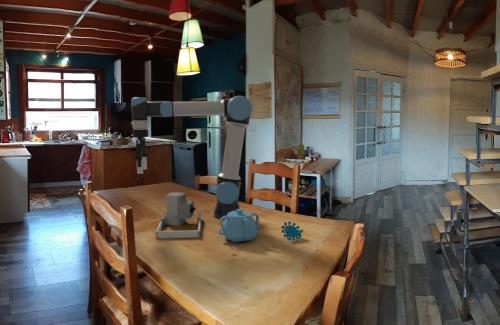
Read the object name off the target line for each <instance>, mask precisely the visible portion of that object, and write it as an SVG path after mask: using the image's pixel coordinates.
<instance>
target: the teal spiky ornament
mask: <svg viewBox="0 0 500 325" xmlns="http://www.w3.org/2000/svg"><path fill="white" fill-rule="evenodd" d="M296 225H297V224H296V222H293V223H292V222H291V221H288V222H286V221H285V222H284V223H283V224H282V225H281V233H282V234H283V233H284V234H283V238H287V237H288V238H287V241H289V242H290V240H291V239H292V240H293V241H294V240H296V239H297V240H298V239H301V238H302V237H303V235H302V234H303V232H304V231H305V230H304V229H301V228H300V226H299V225H297V226H296ZM286 236H287V237H286ZM297 240H296V241H297ZM293 241H292V242H293Z"/></svg>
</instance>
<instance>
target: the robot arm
mask: <svg viewBox="0 0 500 325" xmlns="http://www.w3.org/2000/svg"><path fill="white" fill-rule="evenodd" d="M130 102H131V103H130V105H131V106H130V109H131V122H130V124H131V125H132V138H137V139H136V140H135V144H136V145H135V158H134V161H136V173H137V175H139V174H141V175H142V174H144V170H148V163H147V162H148V161H147V160H148V159H147V158H148V157H149V155H148V153H147V145H146V144H147V143H146V142H147V141H146V138H148V137H149V119H148V118H151V117H153V118H154V117H155V118H161V117H162V118H163V117H164V118H167V117H168V118H169V117H192V116H193V117H194V116H196V117H198V116H200V117H202V116H207V117H210V116H214V117H215V116H222V117H223V118H225V122H226V124H227V132H226V138H225V145H224V153H223V159H222V160H223V161H222V165H221V166H222V167H221V172H220V173H219V174H217V175H216V186H215V187H216V188H215V191H214V194H215V197H216V203H215V206H214V210H213V216H214V218H218V219H221V218H222V217H223V216H227V214H228V213H229V212H232V211H236V209H241V206H240V203H239V196H240V185H241V179H242V178H241V177H240V175H239V174H240V173H239V172H240V165H241V159H242V153H243V151H242V150H243V144H244V138H245V133H246V128H247V127H248V126H249V124H250V118H251V113H252V110H253V107H252V103H251V101H250V99H248V98H247V97H246V96H243V95H236V96H233V97H231V98H223V99H222V100H205V101H204V100H203V101H200V100H197V101H196V100H195V101H167V100H165V101H164V100H160V101H159V100H158V101H149V100H148V99H147V97H132V98H131V101H130Z"/></svg>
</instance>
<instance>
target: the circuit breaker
mask: <svg viewBox="0 0 500 325" xmlns="http://www.w3.org/2000/svg"><path fill="white" fill-rule="evenodd" d="M186 195H187V194H186V192H172V191H171V192H169V193H167V194H165V198H164V204H165V205H166V216H165V222H166V223H165V225H164V226H167V225H168V226H177V227H178V226H182V225H183V224H185V223H186V222H187V220H189V219H191V218H192V217H194V216H195V211H197V209H196V207H195V201H194V200H187V198H186V197H187V196H186ZM166 219H167V220H166Z"/></svg>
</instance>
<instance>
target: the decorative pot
mask: <svg viewBox="0 0 500 325" xmlns="http://www.w3.org/2000/svg"><path fill="white" fill-rule="evenodd" d="M253 216H255V219H254V217H253ZM259 219H260V216H259V214H257V213H254V212H251V213H250V212H249V211H246V210H244V209H243V208H240V209H236V211H232V212H229V213H228V214H227V216H223V217H222V218H219V224H220V228H221V229H219V230H218V235H220V236H224V237H225V238H226V239H227V240H229V241H231V242H232V243H234V244H236V243H239V242H245V241H247V242H251V241H252V240H254V239H255V238H256V236H257V234H258V231H260V225H258V224H259V221H260V220H259ZM223 220H224V221H223ZM250 240H251V241H250Z"/></svg>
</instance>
